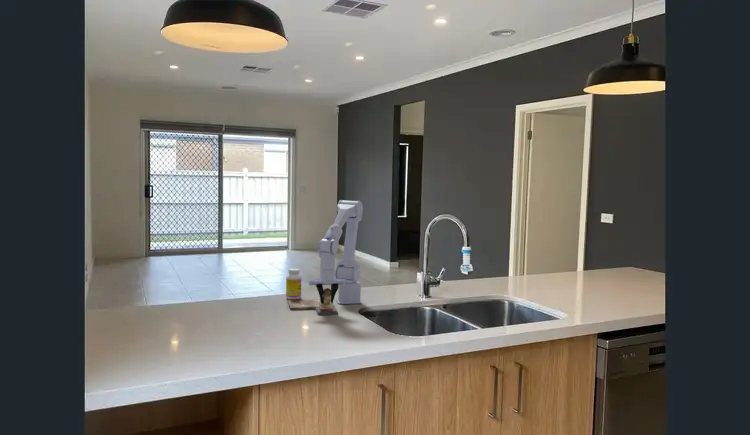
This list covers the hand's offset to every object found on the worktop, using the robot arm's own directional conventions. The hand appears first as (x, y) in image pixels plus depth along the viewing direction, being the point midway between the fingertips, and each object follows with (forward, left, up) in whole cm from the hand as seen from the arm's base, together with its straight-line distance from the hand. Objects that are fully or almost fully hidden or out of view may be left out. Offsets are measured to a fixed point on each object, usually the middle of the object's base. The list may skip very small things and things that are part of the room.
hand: (326, 302), depth 214 cm
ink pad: (0, 0, -4) cm, 4 cm away
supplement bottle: (+11, -26, -4) cm, 29 cm away
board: (+5, -11, -4) cm, 13 cm away
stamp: (0, 0, -2) cm, 3 cm away
